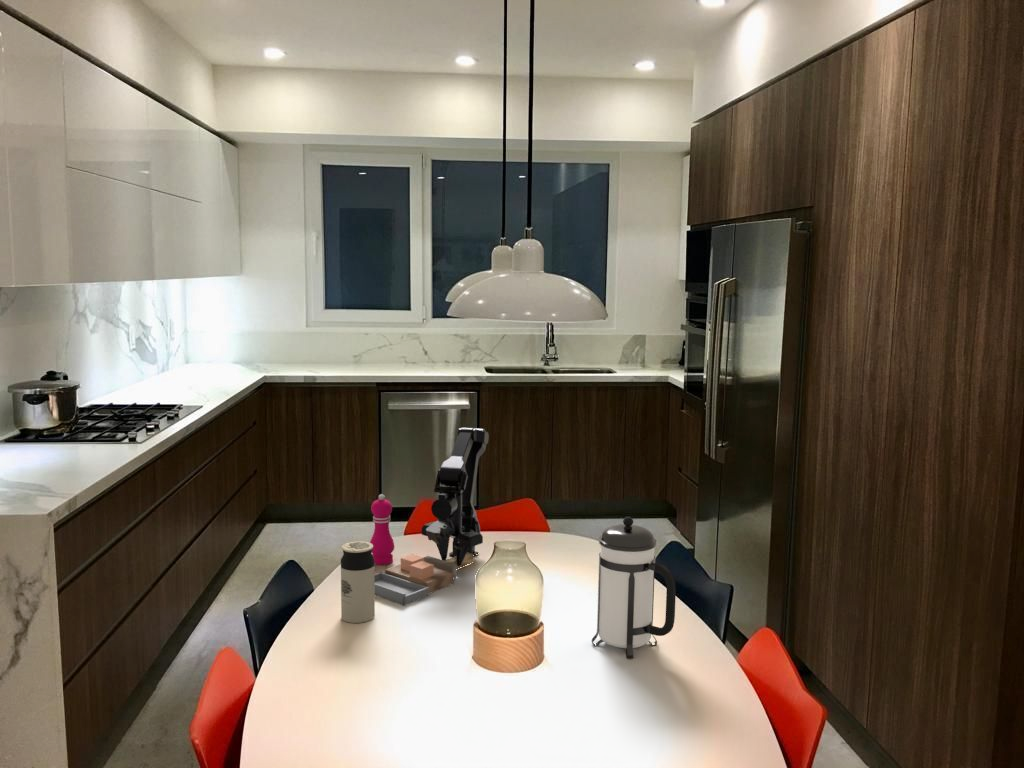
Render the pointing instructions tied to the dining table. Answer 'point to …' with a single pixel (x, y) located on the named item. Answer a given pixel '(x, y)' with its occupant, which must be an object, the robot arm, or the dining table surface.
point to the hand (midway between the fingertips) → (451, 563)
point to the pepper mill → (382, 532)
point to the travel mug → (357, 582)
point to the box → (398, 589)
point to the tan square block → (410, 561)
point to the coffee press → (630, 588)
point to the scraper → (449, 563)
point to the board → (433, 582)
